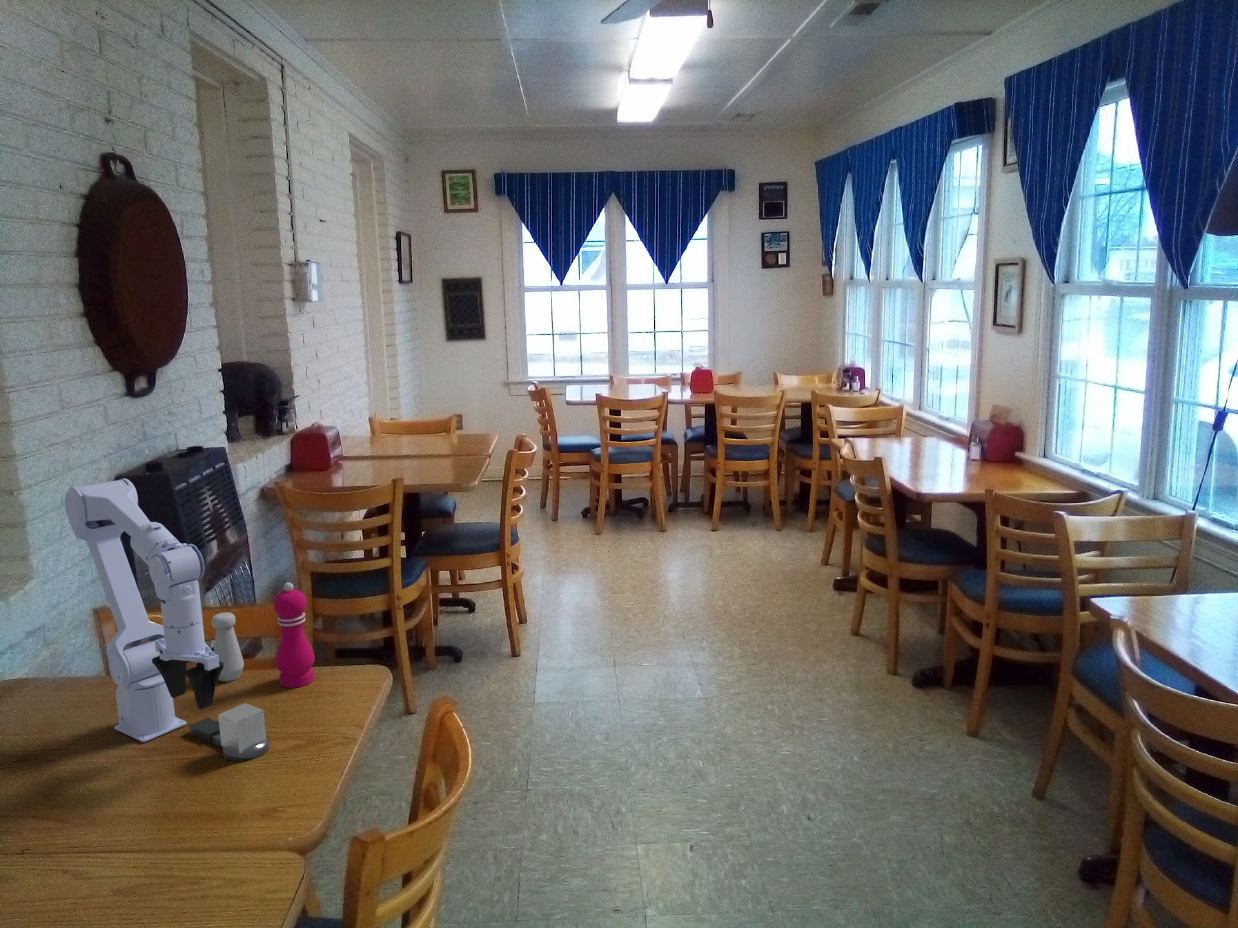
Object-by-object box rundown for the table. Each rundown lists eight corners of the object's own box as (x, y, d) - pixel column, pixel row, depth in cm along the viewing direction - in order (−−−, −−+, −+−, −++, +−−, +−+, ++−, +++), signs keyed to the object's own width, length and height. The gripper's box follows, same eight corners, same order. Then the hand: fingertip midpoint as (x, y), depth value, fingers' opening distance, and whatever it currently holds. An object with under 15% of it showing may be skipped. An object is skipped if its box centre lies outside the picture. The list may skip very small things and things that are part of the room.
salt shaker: (233, 684, 179) (226, 620, 176) (207, 682, 180) (199, 619, 177) (251, 672, 184) (244, 610, 182) (225, 670, 185) (218, 608, 183)
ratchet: (179, 737, 158) (176, 713, 157) (216, 721, 164) (213, 698, 163) (240, 765, 148) (237, 740, 147) (277, 747, 154) (275, 722, 153)
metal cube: (221, 745, 152) (218, 714, 151) (248, 733, 156) (245, 702, 155) (239, 753, 149) (236, 722, 148) (266, 740, 153) (263, 710, 152)
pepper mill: (283, 674, 183) (273, 577, 179) (320, 672, 184) (312, 575, 180) (272, 690, 176) (263, 589, 172) (311, 688, 176) (302, 587, 173)
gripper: (133, 620, 148) (143, 699, 151) (185, 638, 141) (195, 721, 143) (174, 607, 154) (183, 683, 157) (227, 624, 146) (235, 704, 149)
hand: (191, 700), depth 150 cm, fingers open, 7 cm apart
